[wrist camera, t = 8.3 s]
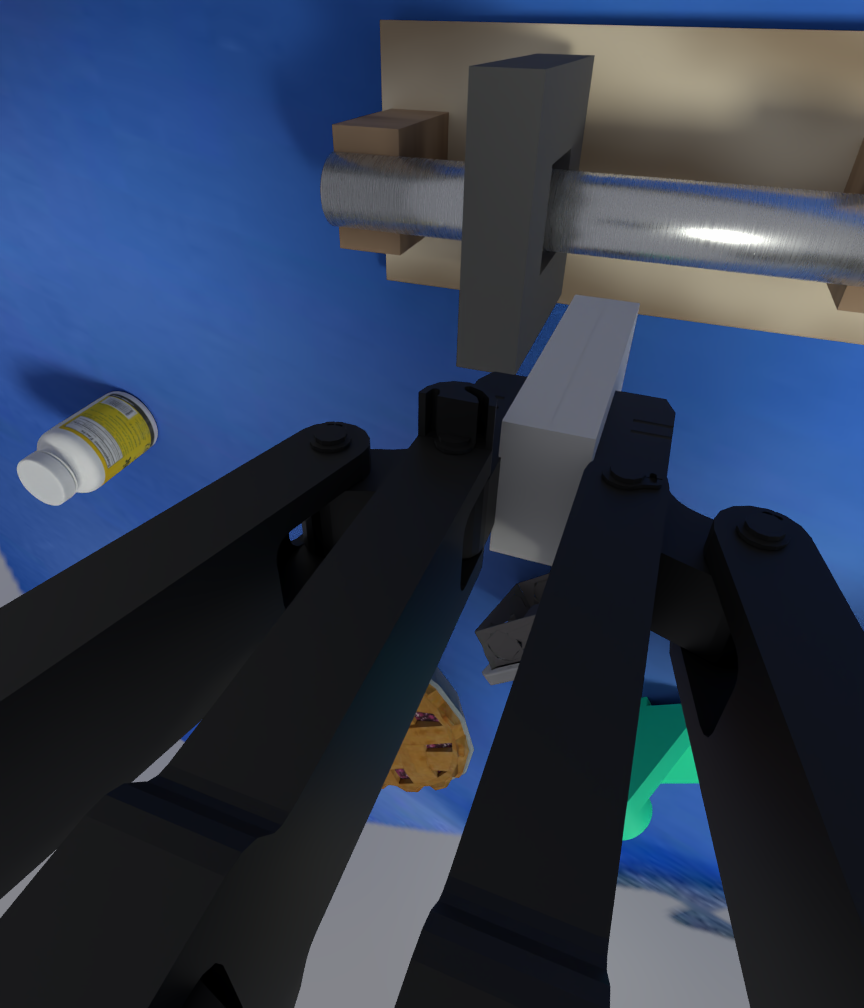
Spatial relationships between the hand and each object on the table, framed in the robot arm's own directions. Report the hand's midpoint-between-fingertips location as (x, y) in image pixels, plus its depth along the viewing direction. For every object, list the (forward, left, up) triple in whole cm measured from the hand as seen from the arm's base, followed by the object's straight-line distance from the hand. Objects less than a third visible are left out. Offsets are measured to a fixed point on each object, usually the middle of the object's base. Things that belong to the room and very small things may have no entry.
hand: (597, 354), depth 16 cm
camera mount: (-41, -7, -21) cm, 47 cm away
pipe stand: (0, +1, -21) cm, 21 cm away
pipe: (0, +1, -14) cm, 14 cm away
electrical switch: (-27, +1, -21) cm, 34 cm away
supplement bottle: (-21, +38, -21) cm, 48 cm away
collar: (0, +5, -18) cm, 18 cm away
